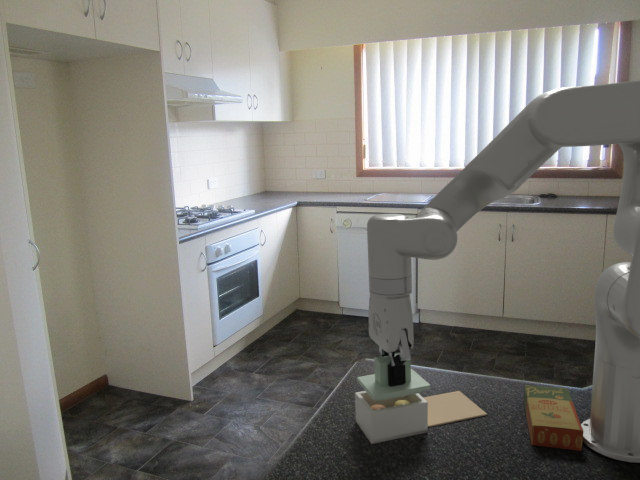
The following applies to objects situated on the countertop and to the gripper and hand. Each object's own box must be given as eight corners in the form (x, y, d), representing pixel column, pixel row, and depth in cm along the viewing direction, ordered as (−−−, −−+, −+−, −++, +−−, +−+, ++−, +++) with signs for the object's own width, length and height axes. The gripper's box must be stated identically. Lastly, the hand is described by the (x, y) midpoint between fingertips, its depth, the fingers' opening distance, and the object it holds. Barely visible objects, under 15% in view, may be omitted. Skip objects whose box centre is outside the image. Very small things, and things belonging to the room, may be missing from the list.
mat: (459, 392, 111) (459, 390, 111) (486, 415, 102) (486, 413, 102) (402, 402, 108) (402, 401, 108) (426, 427, 98) (426, 426, 98)
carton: (530, 446, 92) (531, 424, 91) (522, 402, 107) (523, 382, 106) (583, 452, 90) (584, 429, 89) (567, 406, 105) (568, 386, 104)
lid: (410, 376, 103) (410, 345, 101) (430, 394, 95) (430, 361, 94) (357, 386, 100) (356, 354, 98) (373, 405, 92) (372, 371, 91)
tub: (408, 411, 104) (408, 383, 103) (427, 432, 97) (427, 402, 96) (355, 421, 101) (355, 392, 100) (371, 444, 94) (371, 413, 92)
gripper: (354, 276, 100) (358, 367, 104) (389, 299, 85) (392, 405, 88) (390, 271, 102) (393, 360, 106) (431, 293, 87) (433, 396, 90)
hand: (393, 380), depth 97 cm, fingers closed on lid, 2 cm apart
